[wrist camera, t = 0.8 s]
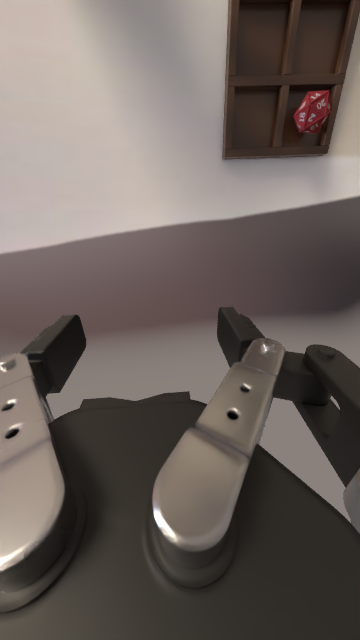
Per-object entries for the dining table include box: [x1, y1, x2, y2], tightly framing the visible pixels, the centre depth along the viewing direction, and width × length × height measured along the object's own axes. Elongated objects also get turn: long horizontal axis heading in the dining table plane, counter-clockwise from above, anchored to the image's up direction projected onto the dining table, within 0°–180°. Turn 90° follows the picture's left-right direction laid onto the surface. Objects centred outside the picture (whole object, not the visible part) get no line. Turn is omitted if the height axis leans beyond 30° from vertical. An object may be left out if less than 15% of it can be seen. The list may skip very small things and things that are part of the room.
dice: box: [293, 90, 332, 133], centre depth 26 cm, size 4×4×4 cm
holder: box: [222, 0, 360, 160], centre depth 25 cm, size 15×15×1 cm
